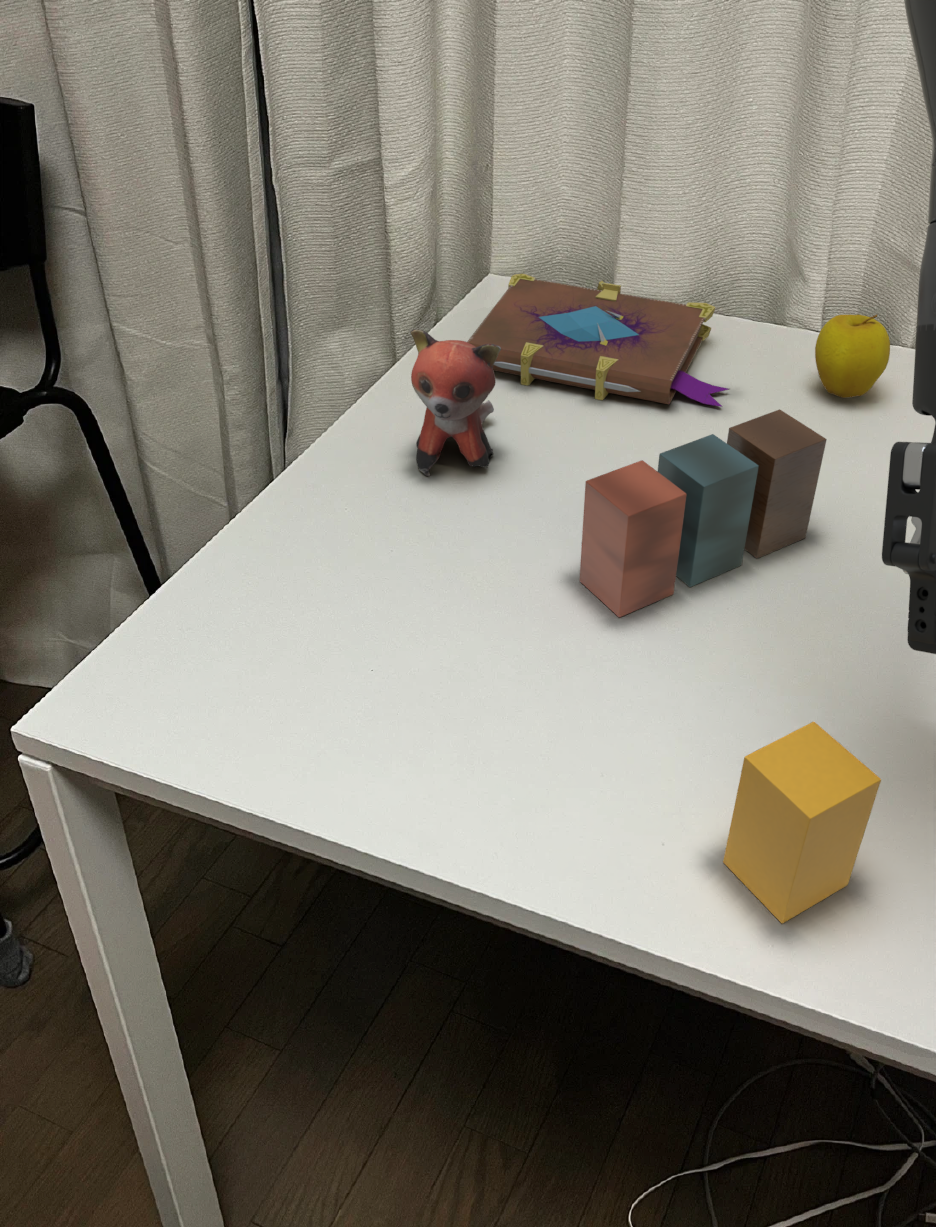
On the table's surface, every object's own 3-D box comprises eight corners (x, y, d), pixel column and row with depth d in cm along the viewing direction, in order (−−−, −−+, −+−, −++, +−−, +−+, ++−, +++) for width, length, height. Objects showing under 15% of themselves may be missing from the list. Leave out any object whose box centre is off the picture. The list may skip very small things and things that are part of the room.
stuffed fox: (520, 421, 106) (522, 296, 99) (492, 492, 98) (492, 361, 90) (438, 412, 108) (433, 287, 100) (404, 481, 99) (396, 351, 92)
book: (715, 430, 106) (721, 382, 103) (459, 379, 114) (457, 332, 110) (756, 339, 117) (763, 293, 114) (520, 298, 125) (520, 254, 121)
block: (787, 826, 71) (813, 720, 65) (848, 885, 68) (882, 779, 62) (722, 862, 69) (743, 756, 63) (782, 924, 66) (810, 818, 60)
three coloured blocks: (762, 506, 96) (779, 408, 90) (805, 538, 93) (827, 438, 87) (578, 581, 89) (585, 480, 83) (619, 618, 86) (628, 516, 80)
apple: (892, 404, 108) (913, 323, 103) (827, 413, 107) (844, 332, 102) (859, 370, 113) (877, 291, 107) (796, 379, 112) (811, 299, 106)
